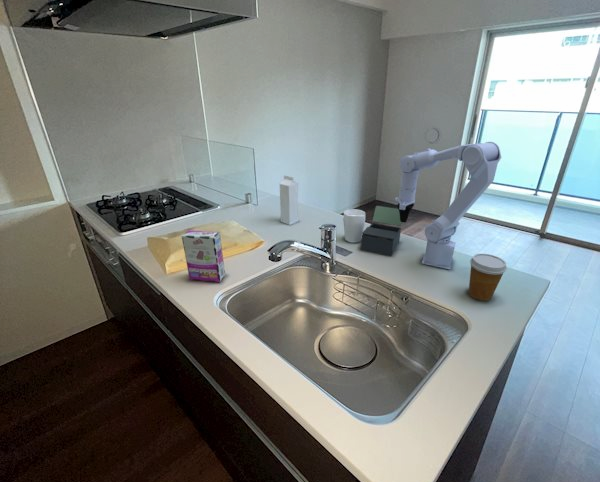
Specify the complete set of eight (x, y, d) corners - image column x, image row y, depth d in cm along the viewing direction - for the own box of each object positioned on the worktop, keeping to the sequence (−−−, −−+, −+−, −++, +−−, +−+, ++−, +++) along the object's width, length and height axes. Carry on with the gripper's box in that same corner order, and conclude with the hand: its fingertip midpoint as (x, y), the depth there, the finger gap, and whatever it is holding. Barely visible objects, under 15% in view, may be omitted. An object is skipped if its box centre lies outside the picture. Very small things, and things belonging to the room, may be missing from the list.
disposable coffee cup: (460, 298, 97) (469, 263, 92) (464, 283, 104) (472, 250, 99) (496, 307, 92) (507, 271, 87) (498, 291, 100) (508, 257, 95)
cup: (357, 246, 130) (359, 218, 125) (338, 240, 135) (339, 213, 130) (367, 238, 136) (369, 211, 131) (348, 233, 141) (350, 207, 136)
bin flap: (372, 221, 134) (372, 221, 135) (401, 225, 129) (401, 226, 130) (376, 205, 135) (376, 206, 136) (405, 209, 130) (405, 210, 131)
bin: (370, 236, 138) (372, 220, 135) (399, 242, 133) (401, 225, 130) (360, 250, 127) (362, 232, 123) (391, 256, 121) (393, 238, 118)
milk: (289, 225, 151) (288, 179, 141) (280, 221, 155) (278, 176, 145) (298, 221, 155) (297, 176, 145) (289, 218, 159) (288, 174, 149)
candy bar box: (226, 275, 110) (220, 231, 103) (220, 282, 106) (214, 237, 99) (195, 272, 112) (188, 229, 105) (188, 280, 108) (180, 235, 101)
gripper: (401, 182, 127) (397, 214, 133) (392, 191, 116) (388, 226, 121) (419, 184, 124) (414, 216, 130) (413, 194, 113) (407, 229, 118)
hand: (403, 221), depth 125 cm, fingers closed
